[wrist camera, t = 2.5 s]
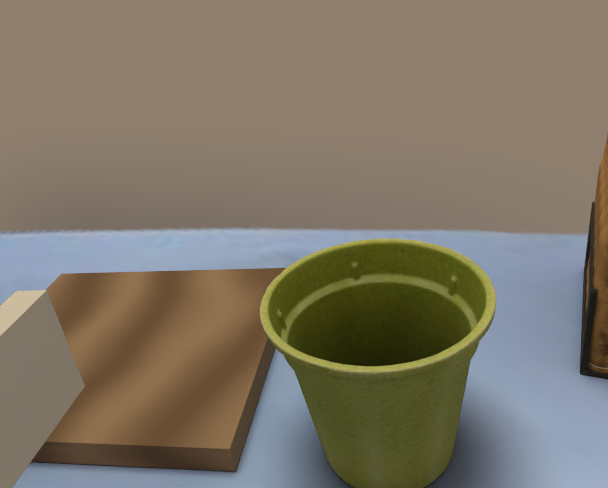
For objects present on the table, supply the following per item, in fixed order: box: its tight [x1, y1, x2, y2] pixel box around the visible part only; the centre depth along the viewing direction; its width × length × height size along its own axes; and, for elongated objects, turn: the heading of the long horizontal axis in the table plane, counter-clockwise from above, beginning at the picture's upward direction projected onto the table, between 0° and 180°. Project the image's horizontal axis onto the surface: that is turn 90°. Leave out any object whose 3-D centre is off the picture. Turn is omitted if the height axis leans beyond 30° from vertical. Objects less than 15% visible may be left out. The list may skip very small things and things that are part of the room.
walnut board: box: [31, 268, 286, 471], centre depth 35 cm, size 18×16×2 cm
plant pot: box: [260, 239, 496, 488], centre depth 25 cm, size 9×9×9 cm
